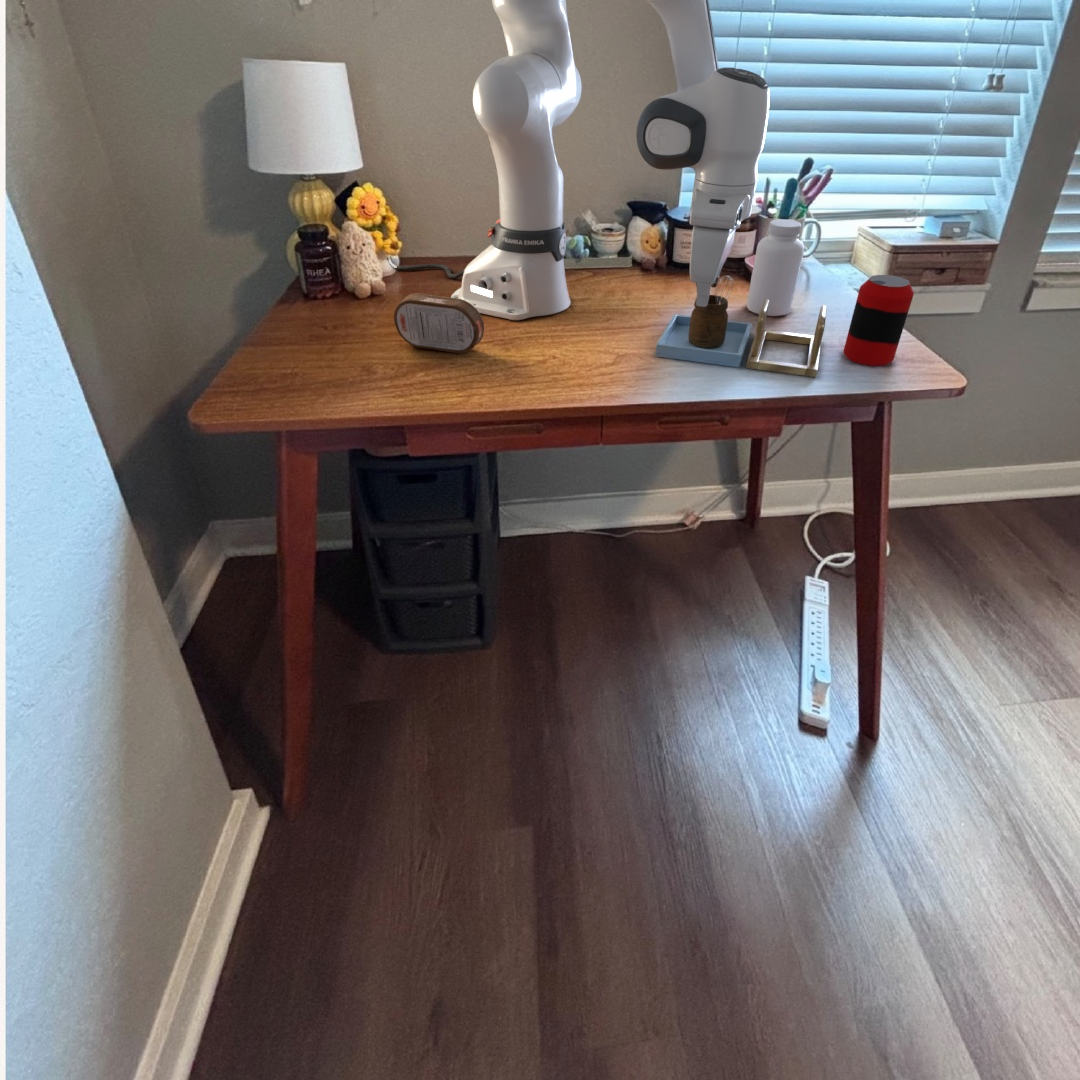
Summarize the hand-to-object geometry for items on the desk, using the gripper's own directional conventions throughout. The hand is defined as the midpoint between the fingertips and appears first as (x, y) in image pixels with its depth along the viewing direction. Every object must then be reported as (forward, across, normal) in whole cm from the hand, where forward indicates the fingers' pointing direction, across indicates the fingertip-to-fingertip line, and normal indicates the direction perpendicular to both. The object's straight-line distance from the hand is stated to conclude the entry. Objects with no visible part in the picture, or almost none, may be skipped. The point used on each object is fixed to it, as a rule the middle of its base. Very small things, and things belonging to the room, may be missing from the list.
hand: (706, 295), depth 114 cm
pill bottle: (+8, -20, +9) cm, 24 cm away
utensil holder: (+8, 0, +1) cm, 8 cm away
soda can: (+8, -3, +26) cm, 27 cm away
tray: (+8, 0, +1) cm, 8 cm away
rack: (+8, 0, +14) cm, 16 cm away
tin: (+9, +16, -40) cm, 44 cm away
